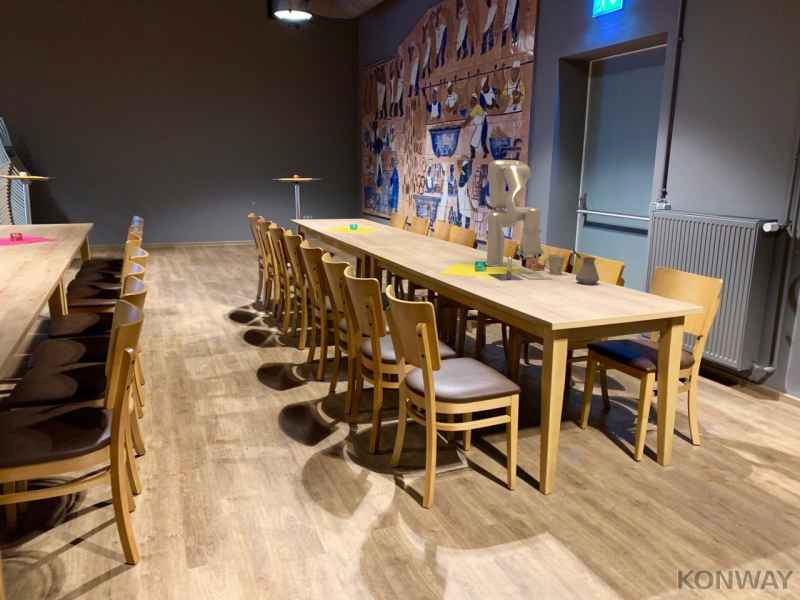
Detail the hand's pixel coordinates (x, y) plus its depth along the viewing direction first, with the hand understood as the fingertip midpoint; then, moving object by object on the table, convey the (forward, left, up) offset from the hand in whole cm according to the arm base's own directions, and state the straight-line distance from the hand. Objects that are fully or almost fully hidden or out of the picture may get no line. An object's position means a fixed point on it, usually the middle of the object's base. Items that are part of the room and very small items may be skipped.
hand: (529, 266), depth 328 cm
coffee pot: (+16, +22, -6) cm, 28 cm away
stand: (+4, -15, -6) cm, 16 cm away
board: (+4, 0, -6) cm, 7 cm away
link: (+5, 0, 0) cm, 5 cm away
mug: (-8, +18, -6) cm, 21 cm away
